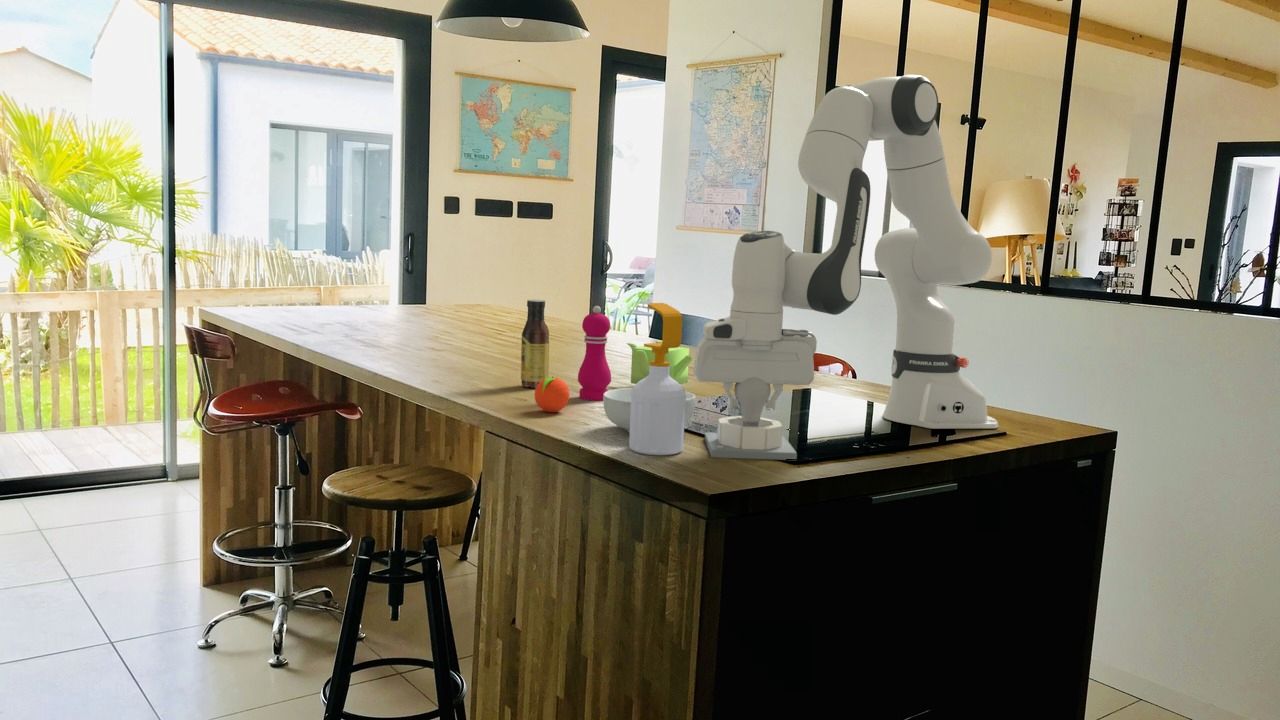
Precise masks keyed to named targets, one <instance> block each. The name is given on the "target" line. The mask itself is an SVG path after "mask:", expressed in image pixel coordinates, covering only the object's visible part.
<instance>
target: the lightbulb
mask: <svg viewBox="0 0 1280 720" xmlns="http://www.w3.org/2000/svg"><path fill="white" fill-rule="evenodd" d="M733 389H734V390H733V392H734V395H735V396H734V397H736V398H737V399H738V404H739V405H738V406H739V407H740V412H741V416H742V420H743V426H748V427H758V425H759V421H760V417H762V412H763V409H764V407H765V404H766V402H767V400H768V398H770V397H771V396H770V395H771V384H767V383H766V382H765V381H763V380H762V379H760V378H755V377H753V378H748V379H746V380H744V381H743V382H741V383H735V385H734V388H733Z"/></svg>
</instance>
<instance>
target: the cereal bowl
mask: <svg viewBox="0 0 1280 720" xmlns="http://www.w3.org/2000/svg"><path fill="white" fill-rule="evenodd" d="M632 389H633V387H622V388H621V387H620V388H614V389H610V390H608V391H607V392H605V393H604V394H603V400H602V401H603V409H604V413H605V414H606V415H605V416H606V418H608V420H609V421H610V422H611V423H612V424H614V425H616V426H618V427H620V428H623V429H625V430H626V432H628V433H629V434H630V411H631V391H632ZM684 391H685V390H684ZM685 394H686V398H685V419H684V425H686V424H687V423H688V422H689V421H690V420H691V419H692V417H693V416H694V413H695V408H696V398H697V397H696V395H695V394H694V393H692V392H689V391H685Z"/></svg>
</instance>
